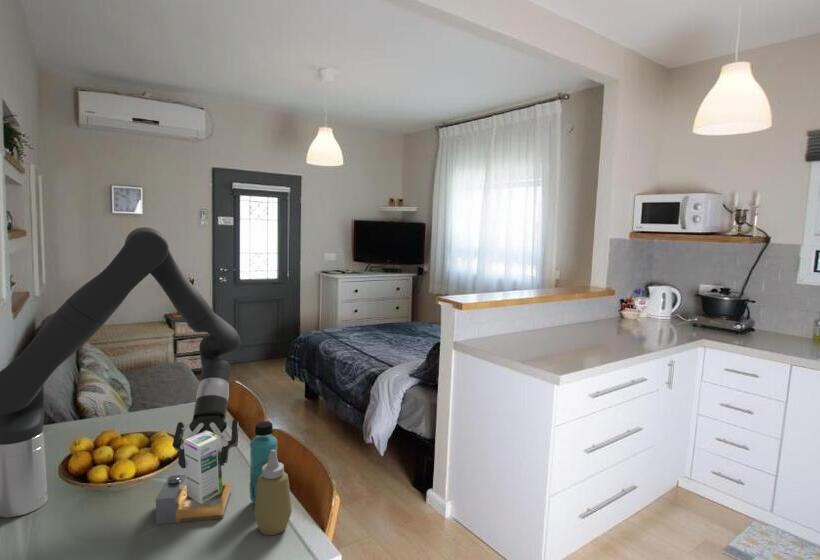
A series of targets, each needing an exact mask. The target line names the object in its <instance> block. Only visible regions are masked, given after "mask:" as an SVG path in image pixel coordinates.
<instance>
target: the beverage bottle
mask: <svg viewBox="0 0 820 560" xmlns="http://www.w3.org/2000/svg"><path fill="white" fill-rule="evenodd" d="M254 427H255V429H254V434H255V435H256V436H255V437H253V439H251V441H250V443H249V446H250V453H249V454H250V464H249V465H250V469H249V476H250V477H249V480H250V481H249V498H250V501H251V503H253V504H255V501H256V491H257V481H258V478H259V476H260V475H262V467H263V465H265V464H266V463H268V458H269V454H270V450H276V454H277V455H278V438H276V436H274V435H272V434H273V432H274V428H273V422H271V421H266V420H265V421H259V422H257V423H256V424H255V426H254ZM277 458H278V456H277Z"/></svg>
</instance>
